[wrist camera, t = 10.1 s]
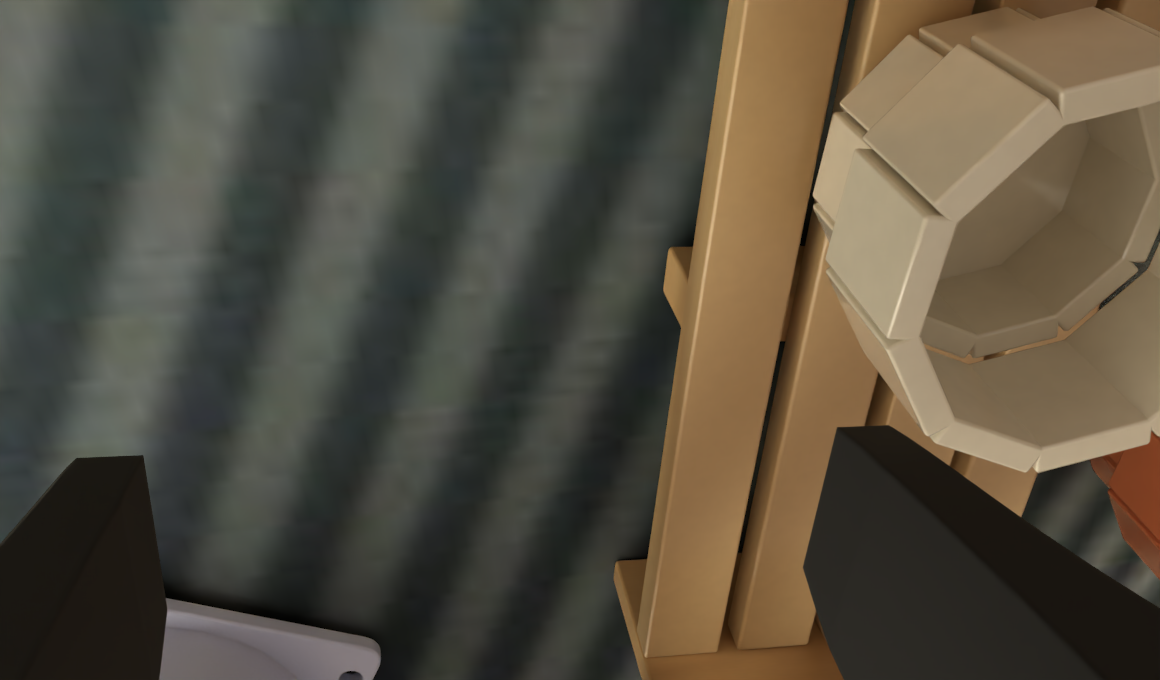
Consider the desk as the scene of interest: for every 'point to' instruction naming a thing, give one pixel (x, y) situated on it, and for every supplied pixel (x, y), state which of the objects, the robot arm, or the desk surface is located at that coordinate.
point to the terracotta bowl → (1135, 496)
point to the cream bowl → (1006, 231)
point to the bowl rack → (774, 353)
